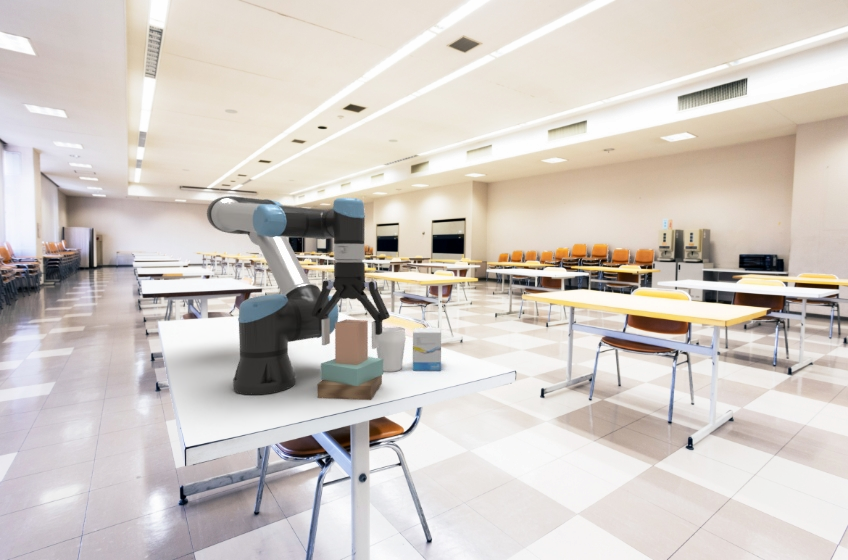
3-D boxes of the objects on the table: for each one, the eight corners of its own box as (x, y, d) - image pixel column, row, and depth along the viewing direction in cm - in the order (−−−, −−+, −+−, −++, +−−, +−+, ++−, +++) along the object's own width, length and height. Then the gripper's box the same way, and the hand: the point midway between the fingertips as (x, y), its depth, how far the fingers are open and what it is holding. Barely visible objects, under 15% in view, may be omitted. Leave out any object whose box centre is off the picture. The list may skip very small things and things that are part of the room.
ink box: (441, 371, 121) (441, 332, 120) (412, 371, 121) (412, 331, 120) (440, 363, 130) (440, 327, 129) (413, 363, 130) (413, 326, 129)
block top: (321, 379, 101) (320, 363, 101) (349, 368, 111) (349, 354, 111) (356, 386, 96) (356, 369, 96) (383, 374, 106) (383, 359, 106)
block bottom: (317, 400, 98) (317, 384, 98) (334, 383, 111) (334, 369, 111) (371, 402, 97) (370, 385, 96) (381, 385, 110) (381, 370, 109)
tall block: (335, 363, 102) (335, 322, 101) (346, 357, 107) (346, 319, 107) (357, 364, 100) (357, 324, 99) (367, 359, 106) (367, 320, 105)
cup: (401, 374, 118) (401, 332, 117) (371, 372, 120) (371, 331, 119) (408, 365, 127) (408, 327, 126) (380, 364, 129) (380, 326, 128)
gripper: (296, 261, 102) (298, 346, 103) (391, 261, 95) (391, 352, 96) (312, 261, 109) (313, 340, 110) (401, 261, 102) (402, 345, 103)
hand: (350, 346), depth 103 cm, fingers open, 13 cm apart
